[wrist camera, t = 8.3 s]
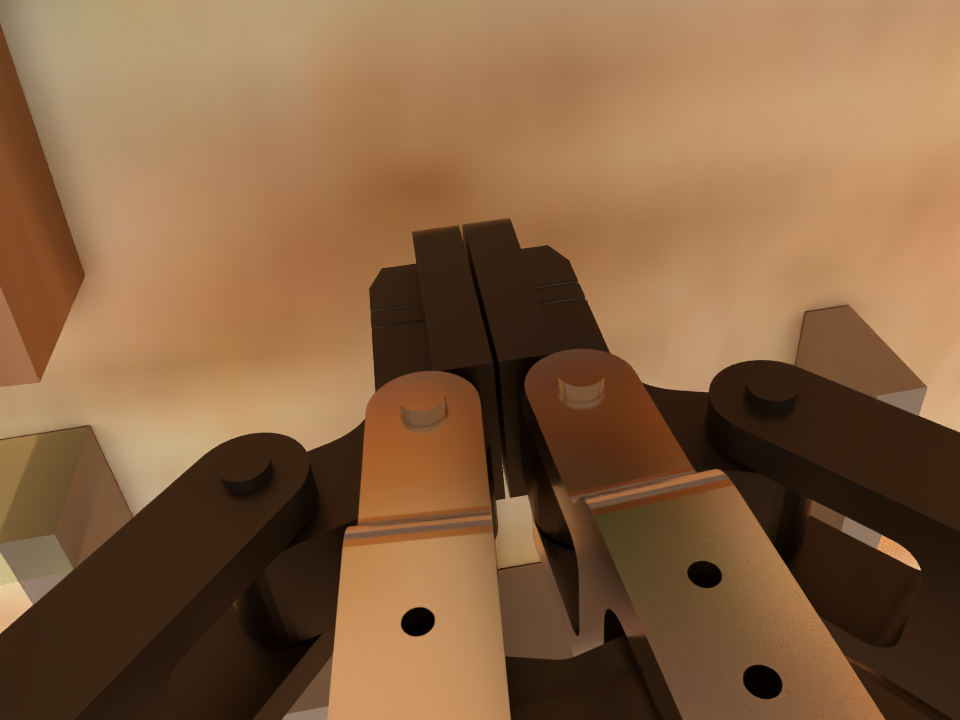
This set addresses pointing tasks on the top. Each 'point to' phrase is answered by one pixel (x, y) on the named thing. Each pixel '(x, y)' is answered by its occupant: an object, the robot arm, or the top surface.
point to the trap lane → (523, 590)
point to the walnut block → (29, 242)
